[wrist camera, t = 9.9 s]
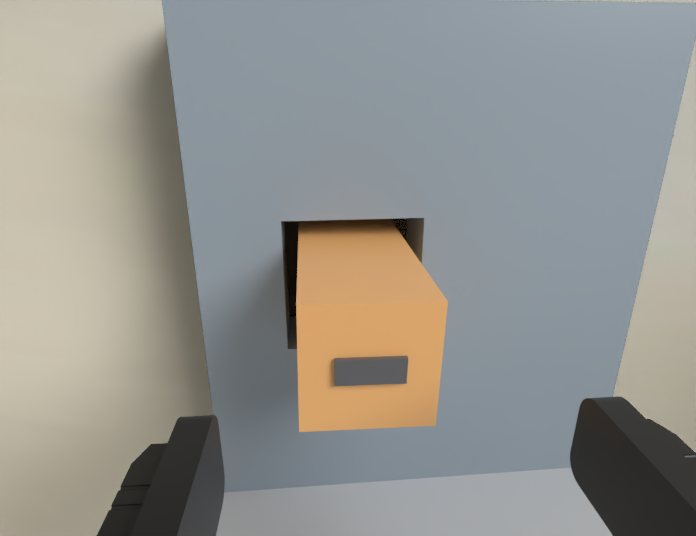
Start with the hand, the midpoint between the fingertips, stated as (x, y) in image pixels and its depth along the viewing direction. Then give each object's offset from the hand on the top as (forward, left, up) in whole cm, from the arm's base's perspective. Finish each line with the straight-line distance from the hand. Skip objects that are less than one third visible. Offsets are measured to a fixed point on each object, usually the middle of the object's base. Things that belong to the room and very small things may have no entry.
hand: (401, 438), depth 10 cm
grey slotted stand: (-3, 0, -12) cm, 12 cm away
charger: (0, 0, -12) cm, 12 cm away
